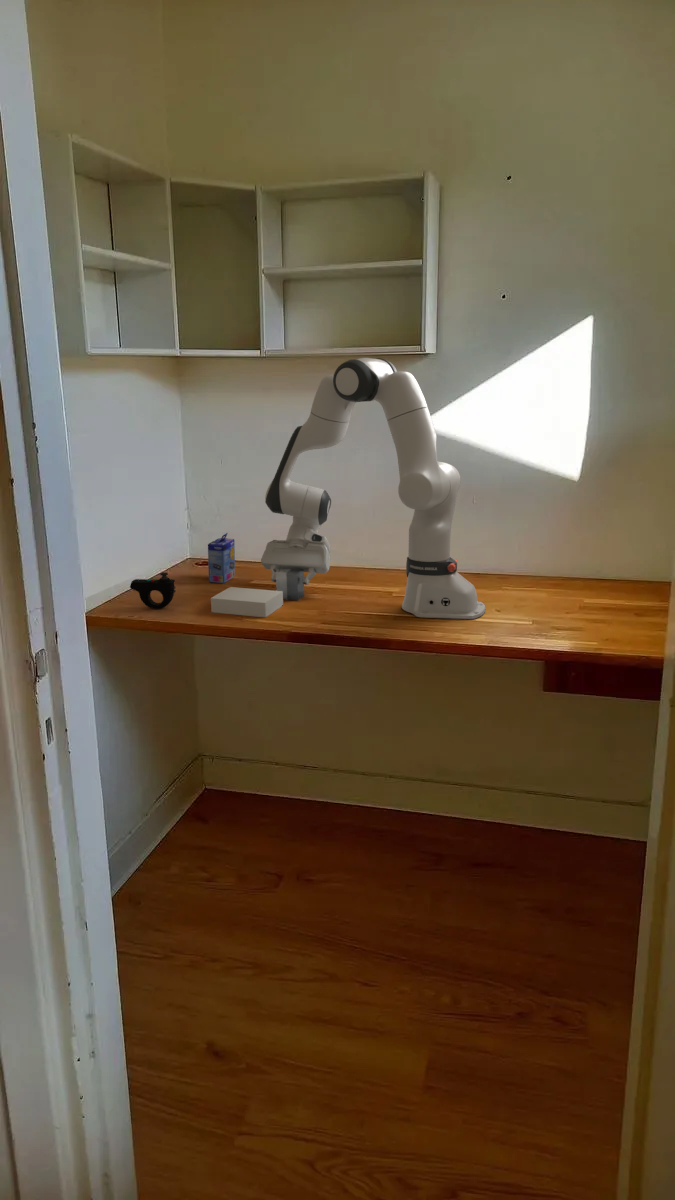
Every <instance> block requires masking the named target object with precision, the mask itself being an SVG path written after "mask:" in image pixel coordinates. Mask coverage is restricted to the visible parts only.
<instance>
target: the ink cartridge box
mask: <svg viewBox="0 0 675 1200" xmlns="http://www.w3.org/2000/svg"><path fill="white" fill-rule="evenodd" d="M227 536H228V532H226V533H224V534H223V535H222V536H221V537H219V538H217V539H215V540H213V541H211V542H208V544H207V562H208V582H209V583H217V584H225V583H227V582H229V581H230V580H232V579H233V578H235V577H236V575H235V574H236V573H235V571H236V567H235V566H236V565H235V563H236V562H235V559H236V557H235V555H236V554H235V538H227ZM234 576H235V577H234ZM232 577H233V578H232Z"/></svg>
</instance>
